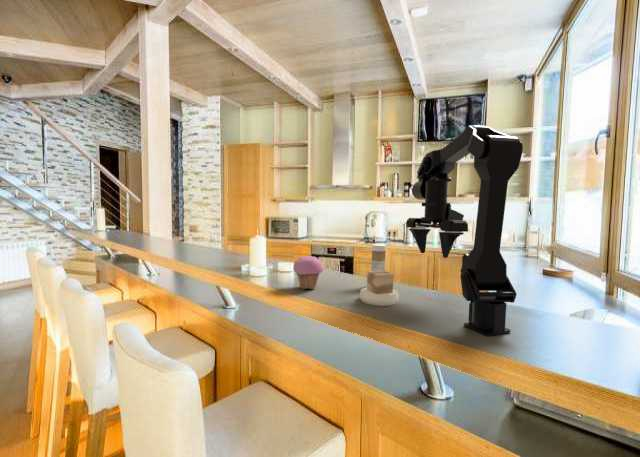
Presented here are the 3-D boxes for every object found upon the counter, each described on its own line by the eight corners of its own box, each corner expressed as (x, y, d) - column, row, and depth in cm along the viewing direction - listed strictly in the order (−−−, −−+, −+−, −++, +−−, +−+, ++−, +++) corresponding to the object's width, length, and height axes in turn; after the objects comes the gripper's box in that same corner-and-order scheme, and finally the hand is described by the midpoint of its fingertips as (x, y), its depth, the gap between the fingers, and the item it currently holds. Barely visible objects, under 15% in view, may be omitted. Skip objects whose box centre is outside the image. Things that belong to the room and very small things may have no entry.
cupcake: (321, 285, 107) (321, 254, 107) (323, 292, 99) (324, 258, 98) (293, 285, 107) (293, 253, 106) (292, 292, 98) (293, 257, 97)
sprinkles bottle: (376, 284, 110) (378, 243, 109) (387, 287, 107) (389, 244, 106) (367, 286, 107) (368, 244, 107) (378, 289, 104) (379, 245, 103)
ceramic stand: (405, 303, 88) (406, 294, 88) (372, 307, 85) (372, 297, 85) (384, 294, 98) (385, 285, 97) (353, 297, 94) (354, 288, 94)
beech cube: (392, 292, 90) (393, 274, 89) (376, 294, 88) (376, 275, 87) (382, 288, 94) (383, 270, 94) (366, 289, 92) (367, 271, 92)
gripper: (485, 199, 88) (482, 259, 89) (436, 200, 105) (433, 250, 106) (452, 198, 84) (449, 261, 85) (406, 199, 101) (404, 251, 102)
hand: (433, 255), depth 94 cm, fingers open, 9 cm apart
